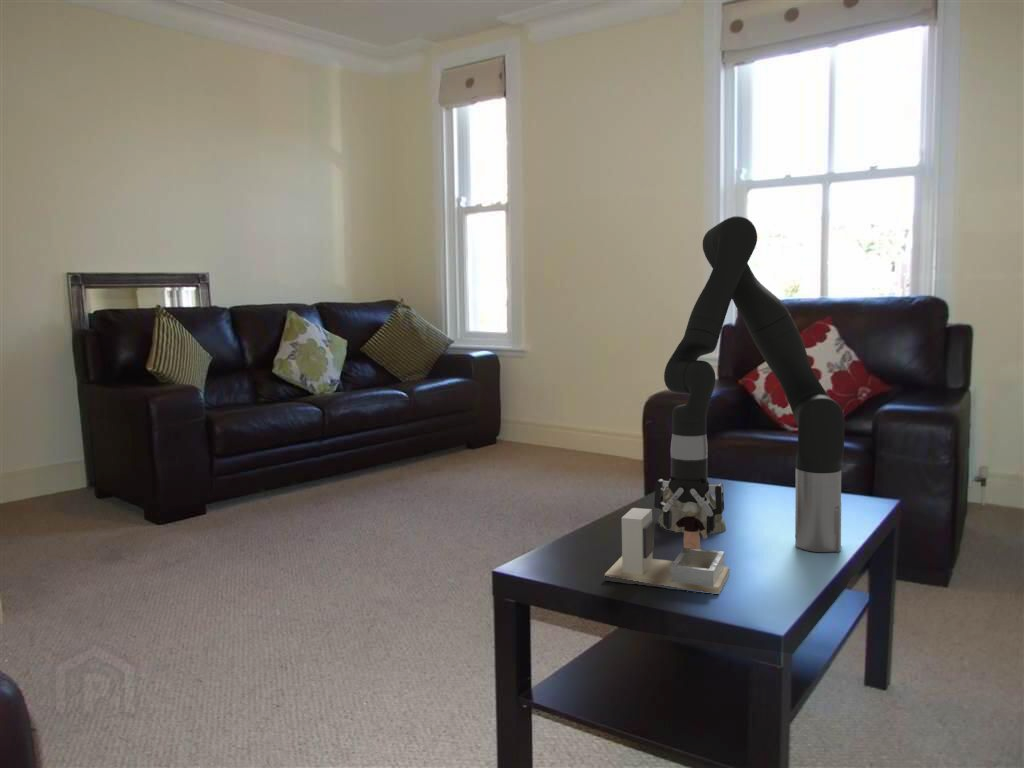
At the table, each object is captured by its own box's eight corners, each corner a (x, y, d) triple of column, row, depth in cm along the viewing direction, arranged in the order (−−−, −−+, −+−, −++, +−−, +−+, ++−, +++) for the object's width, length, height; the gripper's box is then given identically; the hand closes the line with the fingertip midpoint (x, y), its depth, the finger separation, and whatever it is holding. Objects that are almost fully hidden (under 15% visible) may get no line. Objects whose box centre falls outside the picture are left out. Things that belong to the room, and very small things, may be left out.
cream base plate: (729, 574, 157) (729, 566, 157) (719, 595, 146) (719, 587, 146) (622, 562, 166) (622, 555, 166) (604, 581, 155) (604, 574, 155)
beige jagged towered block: (725, 535, 182) (722, 470, 182) (653, 533, 187) (650, 470, 187) (728, 521, 197) (726, 461, 197) (662, 520, 202) (660, 462, 202)
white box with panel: (655, 562, 161) (654, 509, 160) (645, 575, 154) (644, 519, 152) (633, 560, 163) (632, 507, 162) (622, 572, 155) (621, 517, 154)
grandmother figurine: (712, 558, 166) (711, 500, 165) (706, 564, 163) (705, 504, 162) (677, 553, 171) (676, 496, 169) (670, 558, 167) (670, 500, 166)
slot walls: (724, 566, 157) (724, 551, 157) (713, 586, 146) (713, 571, 146) (684, 562, 160) (683, 547, 160) (670, 581, 150) (670, 566, 149)
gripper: (727, 453, 165) (726, 529, 167) (660, 449, 172) (660, 522, 173) (720, 460, 159) (719, 539, 160) (650, 456, 165) (651, 531, 167)
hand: (688, 530), depth 167 cm, fingers open, 8 cm apart
